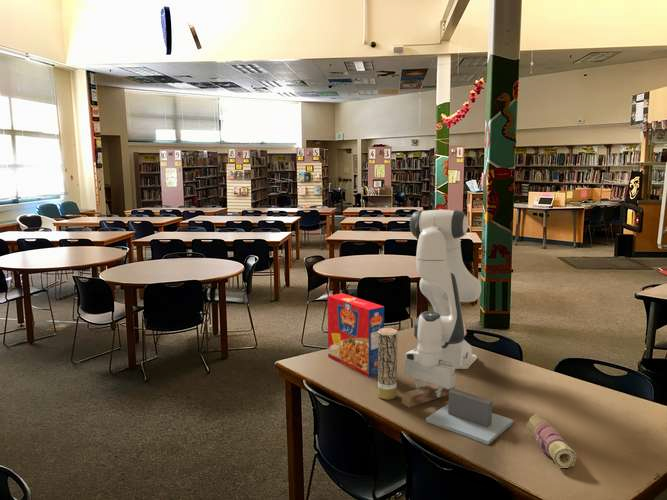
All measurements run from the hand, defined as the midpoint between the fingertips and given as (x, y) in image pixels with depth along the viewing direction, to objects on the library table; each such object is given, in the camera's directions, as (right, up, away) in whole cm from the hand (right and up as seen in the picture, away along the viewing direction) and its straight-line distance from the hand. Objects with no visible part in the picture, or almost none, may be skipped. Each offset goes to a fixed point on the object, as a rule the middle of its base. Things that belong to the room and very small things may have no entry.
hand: (428, 393), depth 190 cm
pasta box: (-25, +3, +33) cm, 42 cm away
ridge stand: (+10, -5, -18) cm, 21 cm away
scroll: (+29, -8, -36) cm, 46 cm away
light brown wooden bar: (0, -2, 0) cm, 2 cm away
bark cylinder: (-15, -2, +2) cm, 15 cm away
